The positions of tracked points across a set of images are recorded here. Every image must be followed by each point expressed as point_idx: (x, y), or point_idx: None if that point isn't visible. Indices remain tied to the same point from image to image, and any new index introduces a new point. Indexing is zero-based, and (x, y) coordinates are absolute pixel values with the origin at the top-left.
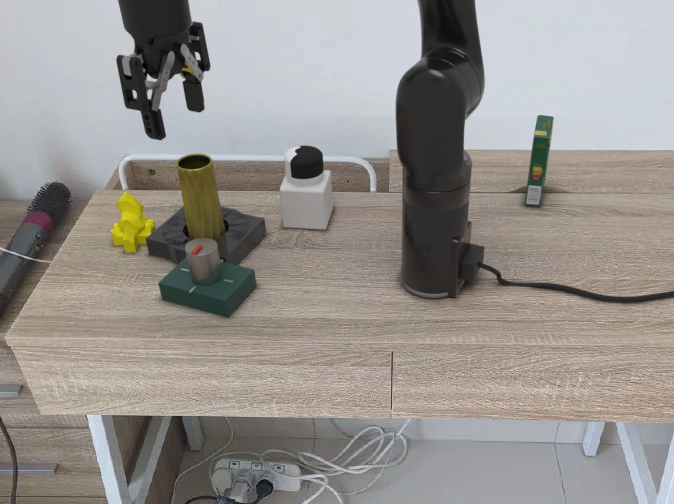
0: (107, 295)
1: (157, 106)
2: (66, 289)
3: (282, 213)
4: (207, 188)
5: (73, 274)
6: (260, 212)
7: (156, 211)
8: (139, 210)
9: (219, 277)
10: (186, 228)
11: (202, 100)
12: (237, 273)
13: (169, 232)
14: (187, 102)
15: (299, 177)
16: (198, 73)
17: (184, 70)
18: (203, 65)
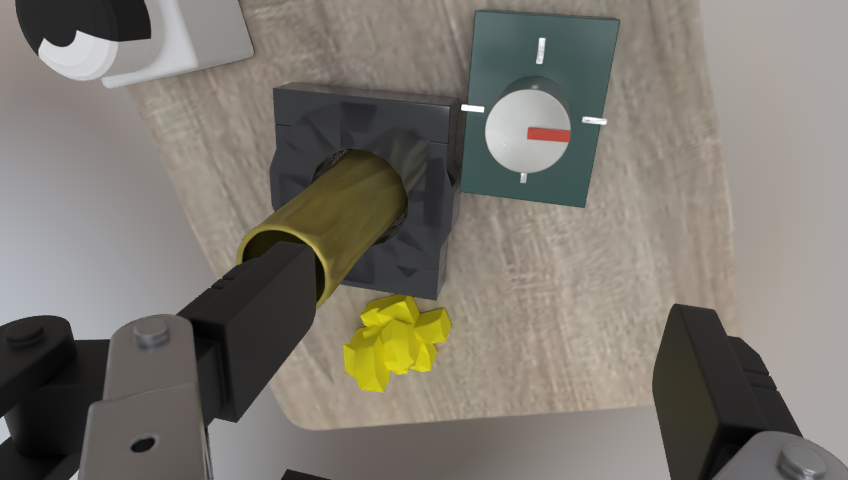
0: (592, 299)
1: (799, 453)
2: (590, 372)
3: (235, 57)
4: (326, 210)
5: (542, 380)
6: (227, 133)
7: (310, 327)
8: (374, 344)
9: (537, 77)
10: None
11: (265, 262)
12: (502, 45)
13: (400, 264)
14: (297, 335)
15: (144, 10)
16: (153, 356)
17: (208, 459)
18: (46, 364)
